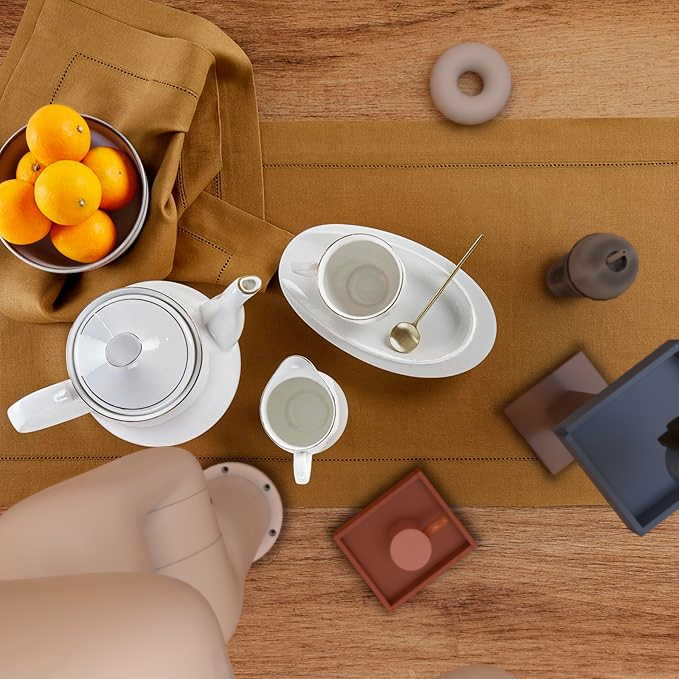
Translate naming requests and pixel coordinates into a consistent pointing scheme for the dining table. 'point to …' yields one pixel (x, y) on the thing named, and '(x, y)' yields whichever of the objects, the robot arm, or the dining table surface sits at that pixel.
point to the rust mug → (412, 542)
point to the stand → (554, 408)
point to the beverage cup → (595, 268)
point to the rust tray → (372, 547)
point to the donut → (487, 67)
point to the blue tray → (630, 439)
